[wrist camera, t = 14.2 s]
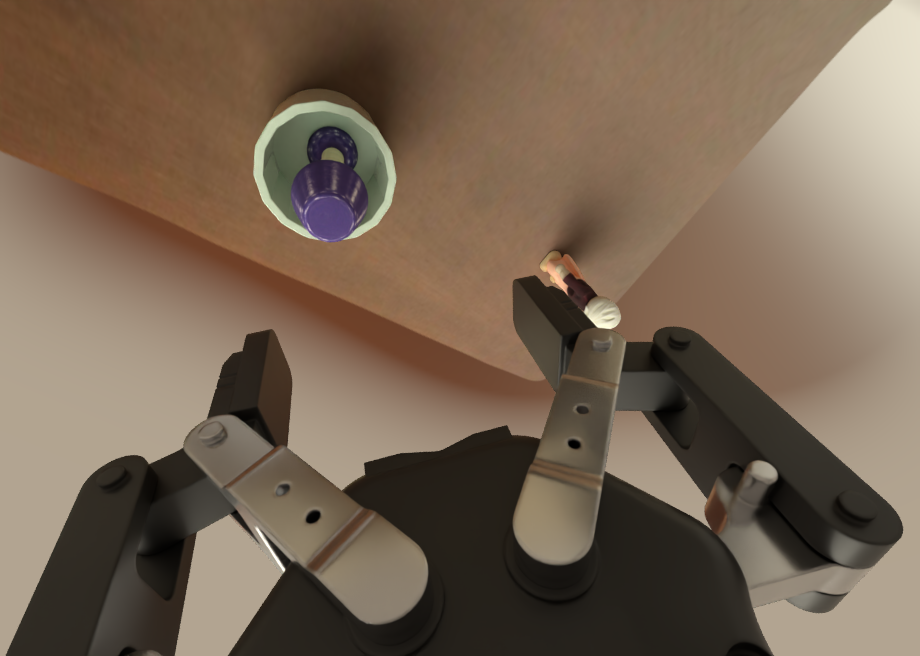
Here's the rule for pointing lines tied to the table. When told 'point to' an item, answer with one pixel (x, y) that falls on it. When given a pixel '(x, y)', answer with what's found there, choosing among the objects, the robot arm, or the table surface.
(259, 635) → the robot arm
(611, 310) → the grandmother figurine
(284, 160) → the glazed cup
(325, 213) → the toy lamp
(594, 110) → the table surface
